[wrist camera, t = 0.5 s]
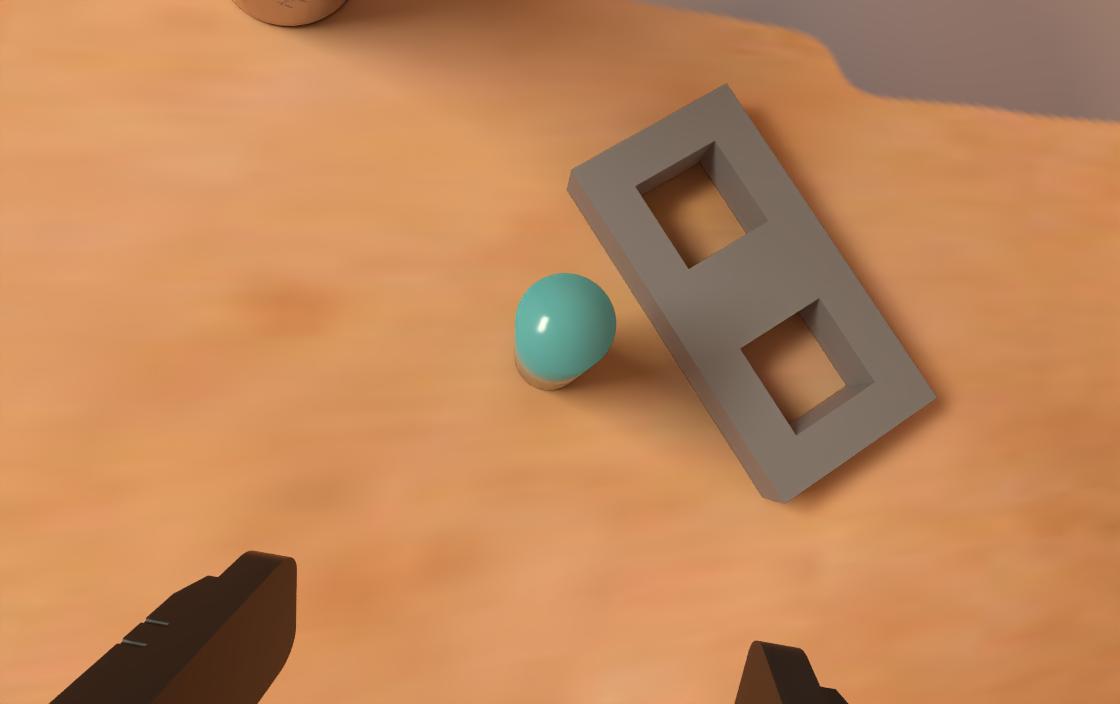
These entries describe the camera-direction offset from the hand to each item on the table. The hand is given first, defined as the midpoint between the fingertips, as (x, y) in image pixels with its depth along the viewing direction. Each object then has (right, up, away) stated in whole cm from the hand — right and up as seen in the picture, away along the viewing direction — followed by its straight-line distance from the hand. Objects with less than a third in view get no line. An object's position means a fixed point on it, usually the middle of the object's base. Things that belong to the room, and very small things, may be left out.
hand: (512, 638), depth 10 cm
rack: (+13, +9, +28) cm, 32 cm away
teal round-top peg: (0, +5, +26) cm, 27 cm away
